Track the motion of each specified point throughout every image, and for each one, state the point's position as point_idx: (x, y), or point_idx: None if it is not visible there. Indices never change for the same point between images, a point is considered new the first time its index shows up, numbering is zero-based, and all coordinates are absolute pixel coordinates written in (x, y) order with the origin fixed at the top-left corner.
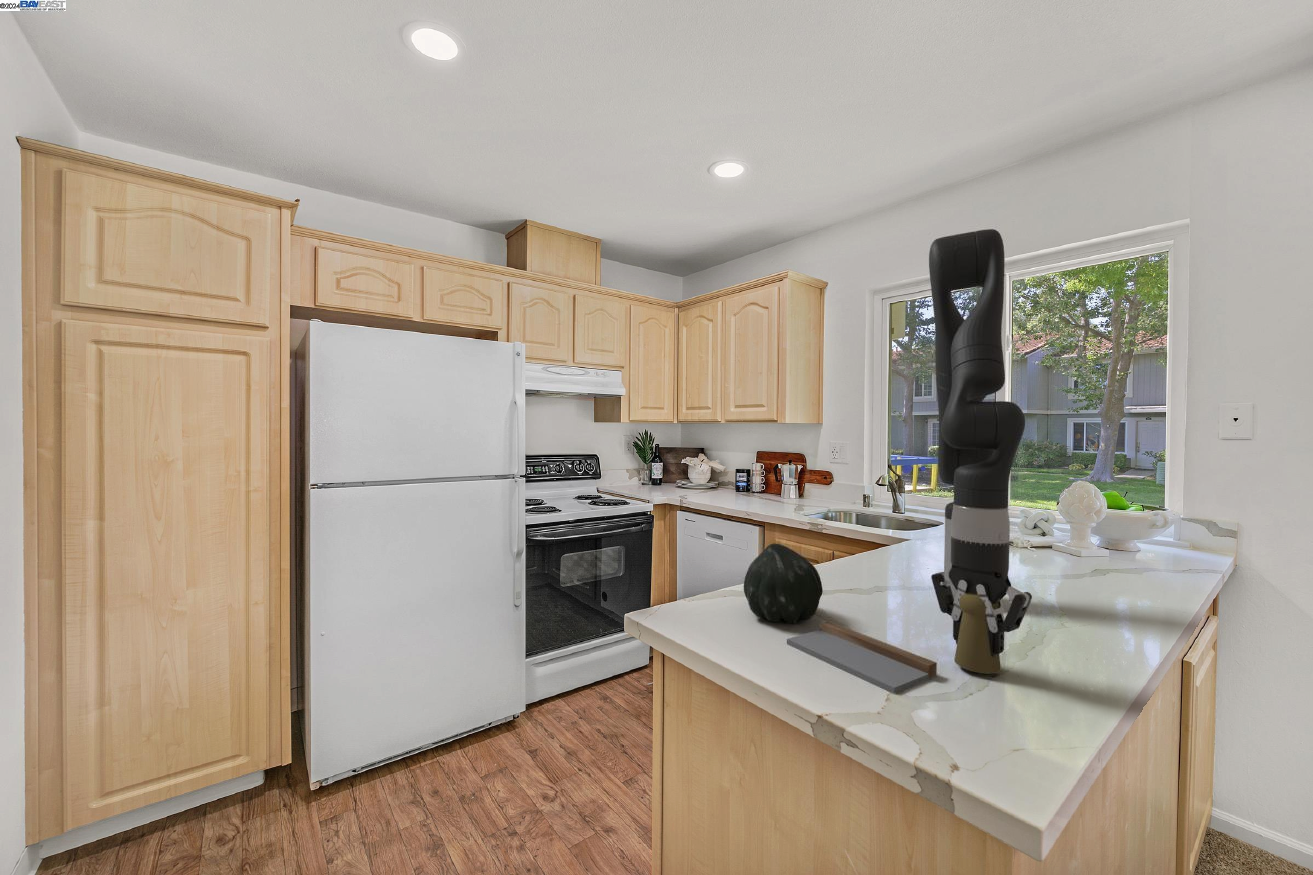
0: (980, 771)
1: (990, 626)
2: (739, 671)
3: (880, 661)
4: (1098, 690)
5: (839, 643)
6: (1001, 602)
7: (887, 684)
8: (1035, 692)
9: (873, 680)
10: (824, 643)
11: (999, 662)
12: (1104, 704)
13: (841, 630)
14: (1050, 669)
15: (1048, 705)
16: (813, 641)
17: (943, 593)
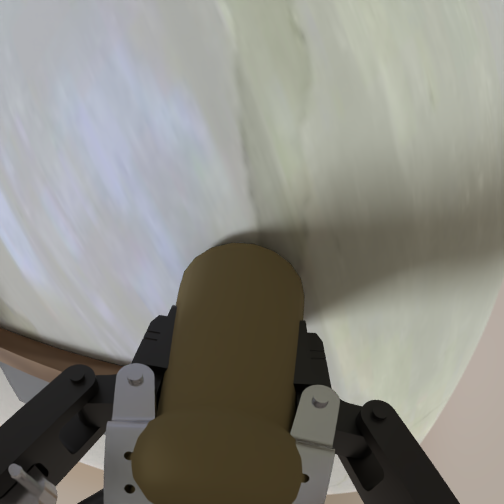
0: (343, 482)
1: None
2: (86, 463)
3: None
4: (490, 181)
5: (40, 379)
6: (325, 489)
7: None
8: (387, 309)
9: None
10: (38, 390)
11: (302, 305)
12: (493, 253)
13: (12, 364)
14: (393, 113)
15: (410, 343)
16: (29, 391)
17: (69, 469)
